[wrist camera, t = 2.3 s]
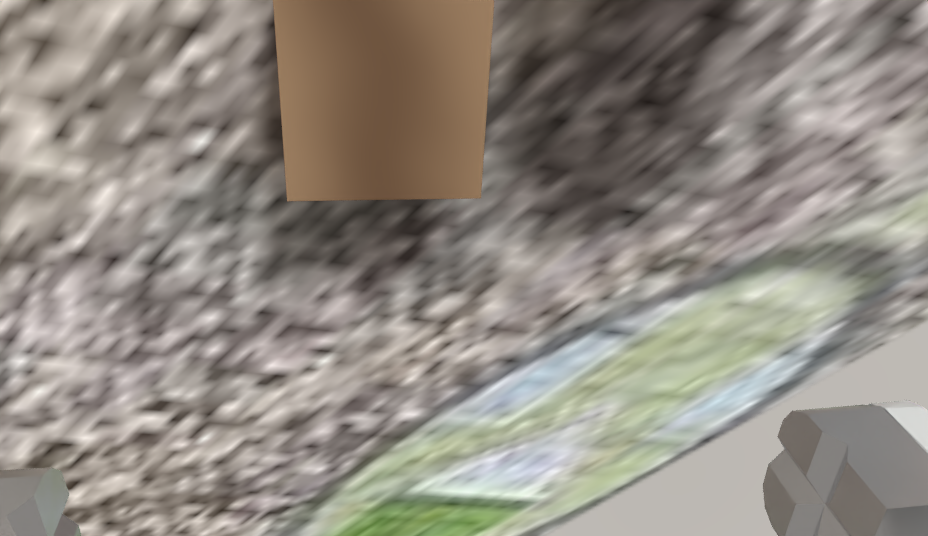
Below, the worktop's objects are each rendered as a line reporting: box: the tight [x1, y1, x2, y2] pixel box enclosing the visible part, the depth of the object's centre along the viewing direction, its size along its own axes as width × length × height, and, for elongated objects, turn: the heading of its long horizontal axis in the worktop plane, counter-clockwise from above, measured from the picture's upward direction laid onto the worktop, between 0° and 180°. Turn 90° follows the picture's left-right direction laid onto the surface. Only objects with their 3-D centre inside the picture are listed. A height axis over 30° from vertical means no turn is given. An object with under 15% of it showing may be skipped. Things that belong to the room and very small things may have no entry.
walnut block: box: [273, 0, 494, 201], centre depth 22 cm, size 6×6×4 cm
